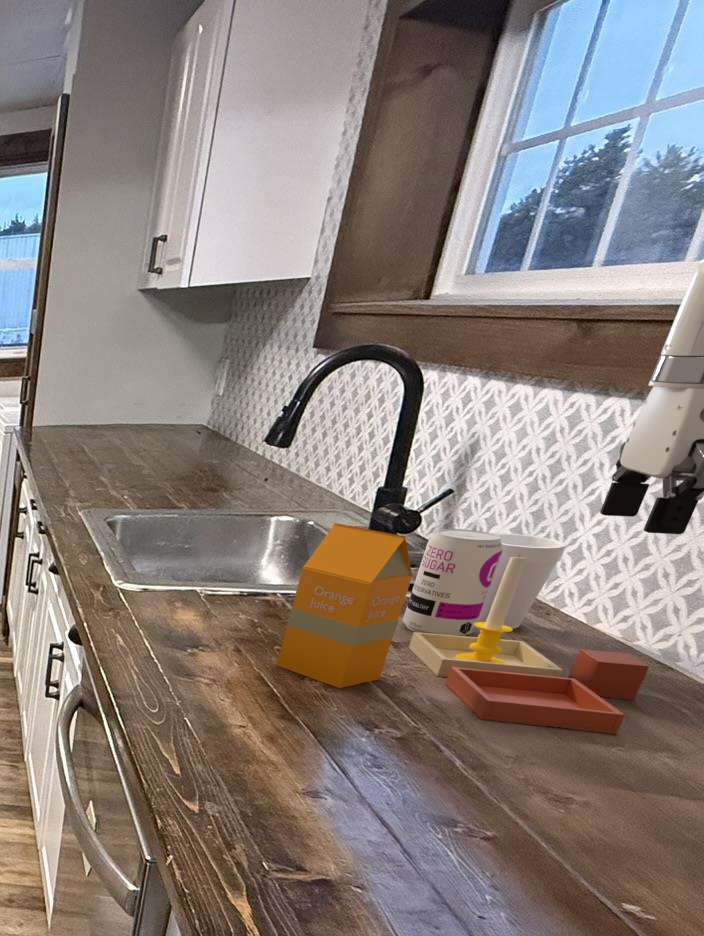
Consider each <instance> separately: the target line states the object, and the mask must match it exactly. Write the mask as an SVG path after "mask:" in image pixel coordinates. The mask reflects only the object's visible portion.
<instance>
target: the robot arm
mask: <svg viewBox="0 0 704 936" xmlns="http://www.w3.org/2000/svg"><path fill="white" fill-rule="evenodd" d="M648 387H652V388H651V390H650V392H649V393H648V395H647V397H646V399H645V400H644V403H643V404H642V406H641V408H640V410H639V413H638V414H637V417H636V419H635V420H634V423H633V425H632V427H631V429H630V432H629V434H628V437H627V439H626V441H624V442H622V443H621V445H620V448H619V449H620V450H619V459H617V461H616V462H615V466H616V471H615V472H614V473H613V474H612V476H611V484H610V486H609V489H608V491H607V494H606V496H605V498H604V501H603V503H602V506H601V509H600V511H599V513H600V515H603V516H608V517H635V516H637V515H638V513H639V511H640V509H641V506H642V503H643V502H644V499H645V496H646V494H647V492H648V490H649V487H650V485H651V484H650V483H646V482H647V481H648V480H649V479H650V478H656V479H662V480H661V481H662V496H657V497H656V498H655V501H654V503H653V505H652V508H651V511H650V513H649V515H648V517H647V520H646V522H645V524H644V526H643V531H644V532H646V533H648V534H663V535H664V534H667V535H682V534H684V533H685V532H686V530H687V528H688V525H689V523H690V521H691V518H692V516H693V514H694V511H695V509H696V507H697V505H698V503H699V501H700V500H702V499H703V498H704V259H702V260H701V261H700V262H699V263H698V264H697V266H695V269H694V270H693V273H692V275H691V277H690V280H689V282H688V285H687V287H686V290H685V293H684V295H683V298H682V300H681V303H680V305H679V308H678V309H677V313H676V314H675V317H674V319H673V322H672V324H671V327H670V330H669V332H668V334H667V337H666V340H665V342H664V345H663V347H662V350H661V352H660V355H659V358H658V360H657V363H656V364H655V368H654V369H653V372H652V375H651V377H650V380H649V382H648ZM677 482H680V483H679V484H678V483H677Z"/></svg>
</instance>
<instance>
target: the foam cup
mask: <svg viewBox="0 0 704 936" xmlns="http://www.w3.org/2000/svg"><path fill="white" fill-rule="evenodd" d="M492 534H496V535H498V536H500V537H501V539H500V541H501V544H502V547H503V551H502V554H501V556H500V559H499V562H498V565H497V568H496V570H495V573H494V576H493V579H492V581H491V584H490V587H489V590H488V592H487V595H486V598H485V601H484V604H483V606H482V609H481V612H480V615H479V617H478V620H477V622H486V620H487V618H488V615H489V612H490V610H491V607H492V604H493V602H494V599H495V596H496V594H497V591H498V588H499V586H500V583H501V580H502V578H503V575H504V572H505V570H506V567H507V565H508V563H509V560H510V558H511V557H518V556H519V554H520V553H521V554H520V557H521V558H527V559H526V561H525V565H524V568H523V571H522V574H521V577H520V579H519V582H518V585H517V588H516V590H515V593H514V596H513V599H512V601H511V604H510V607H509V610H508V613H507V615H506V618H505V621H504V624H503V625H506V626H508V627H511V628H512V629H517V628H519V627H520V626H521V625H522V623H523V621H524V620H525V618H526V616H527V615H528V613H529V612H530V609H531V608H532V606H533V604H534V603H535V601H536V599H537V598H538V596H539V594H540V592H541V591H542V589H543V587H544V586H545V584H546V583H547V581H548V579H549V577H550V575H551V574H552V572H553V570H554V569H555V567H556V566H557V564H558V562H560V561H561V560H562V557H563V554H564V552H565V549H566V547H567V545H566V544H565V542H563V541H559V540H556V539H553V538H548V537H542V536H537V535H529V534H520V533H503V532H500V533H499V532H495V533H493V532H492Z"/></svg>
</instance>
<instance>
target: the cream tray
mask: <svg viewBox="0 0 704 936" xmlns="http://www.w3.org/2000/svg"><path fill="white" fill-rule="evenodd" d="M477 639H478V636H467V635H466V636H456V635H444V634H432V633H420V632H415V631H413V633H412V636H411V639H410V642H409V645H408V649H409V650H410V651H411V652H412V653H413V654H414V655H415V656H416V657H417V658H418V659H419V660H420V661H421V662H422V663H423V664H424V665H425V666H426V667H428V669H429V670H430V671H431V672H432V673H434V675H435V676H437V677H444V678H447V677H448V675H449V672H450V669H451V667H459V668H469V669H480V670H490V671H501V672H511V673H522V674H532V675H543V676H553V677H562V674H563V672H564V670H563V668H560V666H558V665H557V664H556V663H554V662H553V661H551V660H550V659H549V658H547V657H546V656H544V655H543V654H542V653H540V652H539V651H537V650H536V649H535V648H533V647H532V646H530V645H529V644H527V643H526V642H525V641H524V640H514V639H502V638H500V639H501V640H500V642H499V643H498V645H497V646H498V647H500V648H501V649H502V651H501V652H500V653H498V654H493V657H495V658H498V659H501V660H503V661H504V662H506V664H505V663H495V662H484V661H473V660H462V659H455V656H456V655H457V654H460V653H473V652H474V651H475V650H472V649H471V648H470V647H469V646H470V644H471V643H477Z"/></svg>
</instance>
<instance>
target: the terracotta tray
mask: <svg viewBox="0 0 704 936" xmlns="http://www.w3.org/2000/svg"><path fill="white" fill-rule="evenodd" d="M444 685H445V686H446V687H447V688H449V689H450V690H451V691H452V692H453V694H455V695H456V696H457V698H459V699H460V701H462V702H463V703H464V704H465V705H466V707H468V708H469V709H470V710H471V711H472V712H473V713H474V714H475V715H476V716H477V717H478V718H479V719H480V720H487V721H494V722H503V723H505V722H506V723H512V724H521V725H531V726H538V727H539V726H540V727H548V726H551V727H550V728H557V727H561V728H560V729H566V728H567V729H568V730H575V731H576V730H577V731H582V732H583V731H584V732H593V733H602V734H611V735H617V734H618V732H619V730H620V727H621V726H622V723H623V722H624V721H623V720H624V719H625V716H626V714H624V713H623V712H622V711H620V710H619V709H618V708H616V707H615V706H613V705H612V704H610V703H609V701H607V700H605V699H604V698H603V697H600V696H598V695H597V694H595V693H594V692H593V691H591V690H590V689H588V688H587V687H586V686H584V685H583V684H582V683H580V682H579V681H577V680H576V679H574V678H568V677H565V676H564V677H563V676H561V677H553V676H543V675H532V674H522V673H511V672H501V671H490V670H480V669H469V668H459V667H451V669H450V672H449V675H448V677H446V680H445V683H444ZM552 726H553V727H552Z"/></svg>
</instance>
